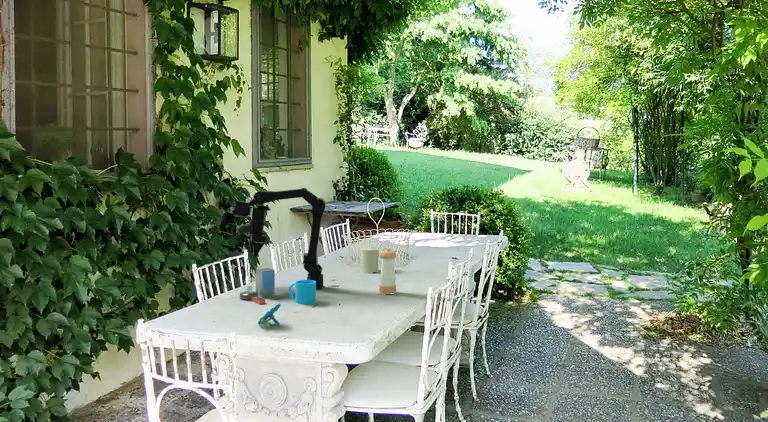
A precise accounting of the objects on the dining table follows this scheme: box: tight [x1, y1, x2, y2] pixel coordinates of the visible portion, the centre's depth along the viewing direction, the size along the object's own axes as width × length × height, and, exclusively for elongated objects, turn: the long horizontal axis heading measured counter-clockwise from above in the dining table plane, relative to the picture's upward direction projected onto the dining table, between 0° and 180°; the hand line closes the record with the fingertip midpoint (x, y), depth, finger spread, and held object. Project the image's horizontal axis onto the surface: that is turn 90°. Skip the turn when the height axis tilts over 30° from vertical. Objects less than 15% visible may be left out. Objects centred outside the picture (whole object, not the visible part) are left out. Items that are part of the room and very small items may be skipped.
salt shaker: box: [378, 248, 397, 295], centre depth 274 cm, size 7×7×19 cm
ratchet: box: [239, 285, 266, 305], centre depth 260 cm, size 7×15×5 cm, turn 38°
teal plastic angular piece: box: [257, 303, 282, 329], centre depth 224 cm, size 11×6×10 cm
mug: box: [288, 279, 317, 305], centre depth 259 cm, size 12×8×8 cm
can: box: [359, 246, 379, 274], centre depth 321 cm, size 9×9×12 cm
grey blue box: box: [255, 267, 276, 299], centre depth 267 cm, size 6×6×11 cm
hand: (253, 254), depth 280 cm, fingers open, 9 cm apart
